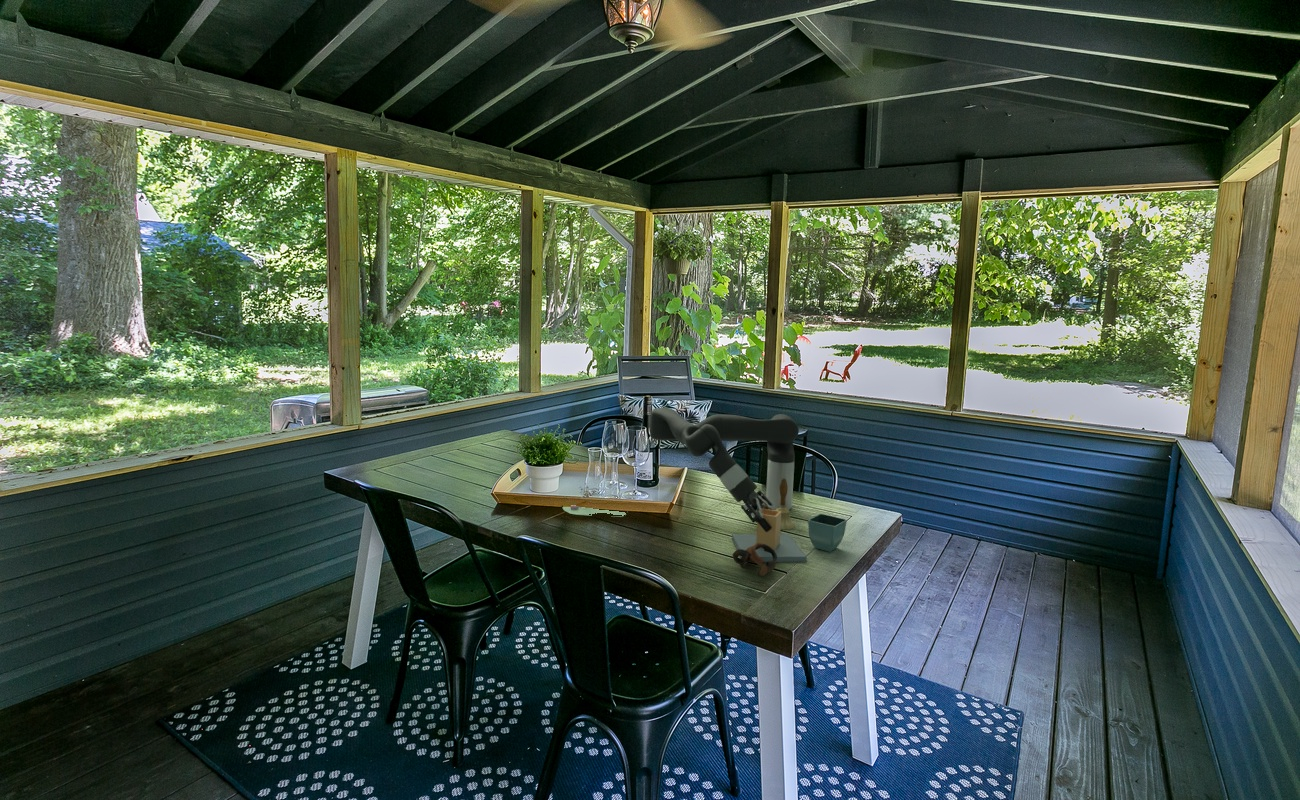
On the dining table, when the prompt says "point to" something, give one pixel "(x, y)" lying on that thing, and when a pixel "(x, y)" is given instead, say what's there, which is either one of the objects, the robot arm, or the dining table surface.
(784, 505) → the hand bell
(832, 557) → the dining table surface
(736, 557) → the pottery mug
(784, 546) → the post board
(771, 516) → the collar
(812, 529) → the flower pot
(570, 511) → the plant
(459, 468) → the dining table surface
